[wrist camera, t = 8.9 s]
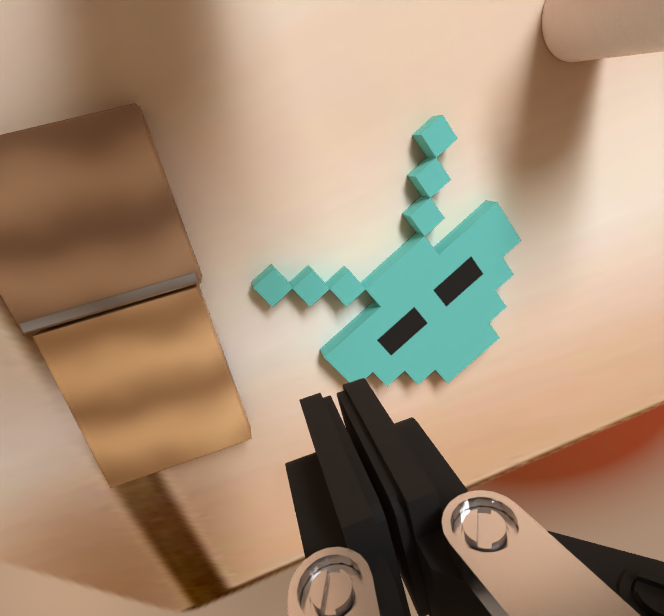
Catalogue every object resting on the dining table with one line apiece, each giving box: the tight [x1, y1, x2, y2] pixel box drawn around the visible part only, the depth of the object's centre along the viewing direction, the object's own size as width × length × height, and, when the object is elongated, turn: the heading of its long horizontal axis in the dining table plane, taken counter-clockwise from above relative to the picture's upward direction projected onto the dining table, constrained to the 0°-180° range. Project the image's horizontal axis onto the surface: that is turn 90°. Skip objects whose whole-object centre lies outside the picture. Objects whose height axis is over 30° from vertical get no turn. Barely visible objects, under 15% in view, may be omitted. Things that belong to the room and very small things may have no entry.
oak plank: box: [33, 283, 252, 488], centre depth 36 cm, size 14×12×2 cm
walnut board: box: [0, 104, 202, 335], centre depth 31 cm, size 13×13×2 cm
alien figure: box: [252, 115, 521, 386], centre depth 40 cm, size 20×2×20 cm
